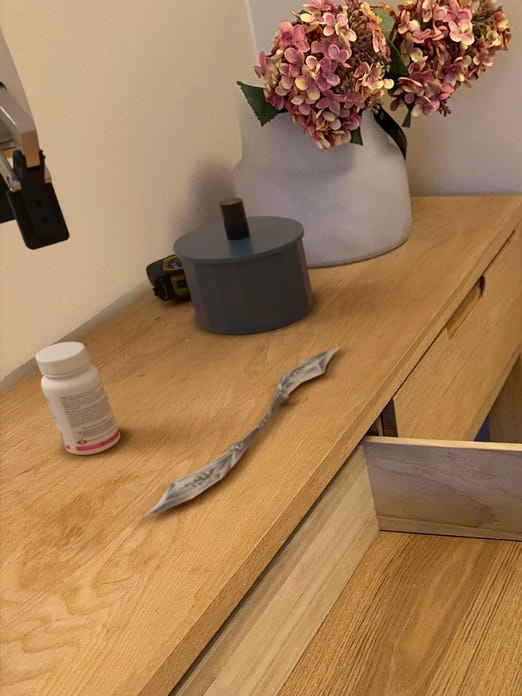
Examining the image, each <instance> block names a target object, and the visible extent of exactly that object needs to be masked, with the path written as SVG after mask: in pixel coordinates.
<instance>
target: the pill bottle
mask: <svg viewBox="0 0 522 696" xmlns="http://www.w3.org/2000/svg"><path fill="white" fill-rule="evenodd" d="M35 361H36V364H37V366H38V369H39V371H40V374H41V375H42V378H41V379H40V380H41V381H40V387H41V389H42V392H43V395H44V397H45V400H46V403H47V406H48V408H49V410H50V413H51V416H52V419H53V421H54V423H55V425H56V428H57V431H58V433H59V436H60V439H61V441H62V444H63V446H64V448H65V450H66V451H67V452H69V453H70V454H73V455H79V456H88V455H93V454H94V455H95V454H98V453H101V452H104V451H106V450H108V449H110V448H112V447H113V446H114V445H116V444H117V443H118V442H119V441H120V438H121V432H120V429H119V426H118V424H117V421H116V417H115V414H114V412H113V409H112V406H111V403H110V401H109V397H108V395H107V392H106V389H105V386H104V383H103V379H102V377H101V373H100V372H99V369H97V367H95V366H94V365H93V364H91V359H90V356H89V353H88V350H87V348H86V346H85V344H84V343H82V342H79V341H64V342H59V343H55V344H52V345H48V346H46V347H44V348H42V349H40V350H39V351H38V352H36V354H35Z"/></svg>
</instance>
